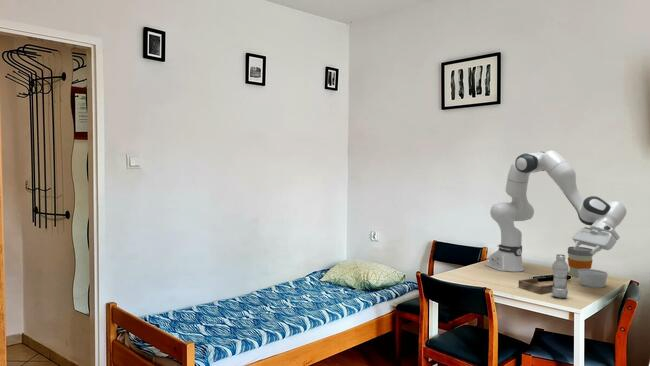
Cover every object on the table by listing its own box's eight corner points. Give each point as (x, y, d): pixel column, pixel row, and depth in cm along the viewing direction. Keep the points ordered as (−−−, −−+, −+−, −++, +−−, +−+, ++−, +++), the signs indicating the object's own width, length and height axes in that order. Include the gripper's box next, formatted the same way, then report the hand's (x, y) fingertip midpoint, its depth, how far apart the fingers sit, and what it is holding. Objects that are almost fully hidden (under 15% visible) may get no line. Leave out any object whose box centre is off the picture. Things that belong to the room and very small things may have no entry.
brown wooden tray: (518, 287, 233) (518, 280, 233) (536, 284, 239) (536, 277, 239) (540, 294, 222) (540, 287, 221) (559, 291, 227) (559, 284, 227)
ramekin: (583, 280, 248) (583, 267, 248) (610, 285, 238) (611, 271, 238) (573, 284, 239) (573, 271, 239) (601, 290, 229) (602, 276, 229)
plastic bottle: (568, 300, 213) (569, 257, 212) (552, 298, 215) (553, 255, 214) (566, 296, 219) (568, 254, 218) (550, 294, 221) (552, 253, 220)
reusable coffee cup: (577, 279, 250) (578, 251, 249) (561, 273, 262) (562, 246, 261) (598, 278, 252) (599, 250, 251) (581, 272, 264) (581, 246, 263)
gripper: (579, 222, 230) (562, 243, 228) (615, 228, 210) (597, 251, 208) (586, 231, 231) (570, 251, 229) (623, 238, 212) (605, 260, 210)
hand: (583, 251), depth 219 cm, fingers open, 8 cm apart
